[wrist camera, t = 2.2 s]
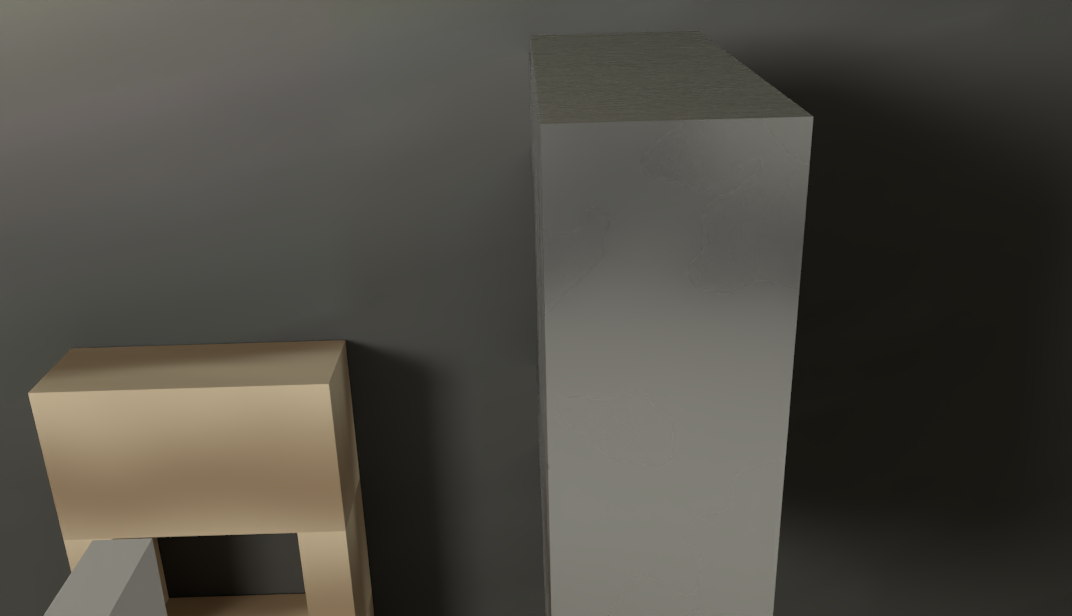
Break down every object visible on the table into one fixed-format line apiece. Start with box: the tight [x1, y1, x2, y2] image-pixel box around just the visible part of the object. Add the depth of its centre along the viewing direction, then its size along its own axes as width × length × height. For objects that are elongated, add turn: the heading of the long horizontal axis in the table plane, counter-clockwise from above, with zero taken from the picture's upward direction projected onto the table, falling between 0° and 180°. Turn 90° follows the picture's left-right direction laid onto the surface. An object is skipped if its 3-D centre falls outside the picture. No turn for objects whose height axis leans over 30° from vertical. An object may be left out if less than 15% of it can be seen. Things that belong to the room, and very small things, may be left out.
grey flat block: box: [529, 31, 813, 616], centre depth 20 cm, size 12×3×12 cm, turn 1°
